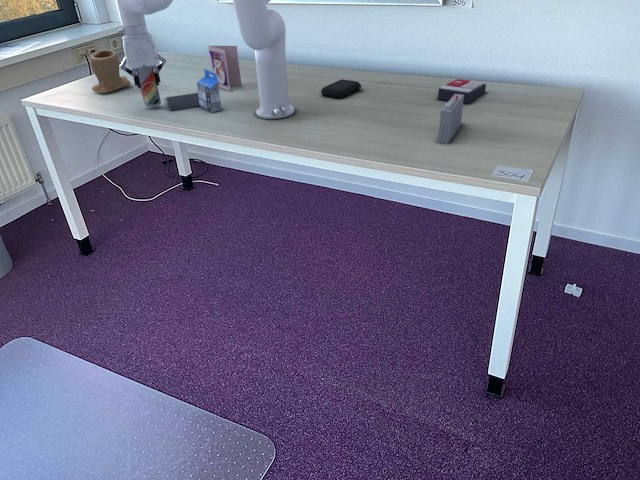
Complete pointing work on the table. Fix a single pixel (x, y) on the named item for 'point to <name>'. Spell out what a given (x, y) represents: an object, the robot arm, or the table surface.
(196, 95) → the mat
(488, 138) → the table surface
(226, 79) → the greeting card
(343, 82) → the carrying case
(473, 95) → the grey and red box
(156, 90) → the lotion bottle
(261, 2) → the robot arm
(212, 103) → the label tape box
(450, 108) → the cassette player
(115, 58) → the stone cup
